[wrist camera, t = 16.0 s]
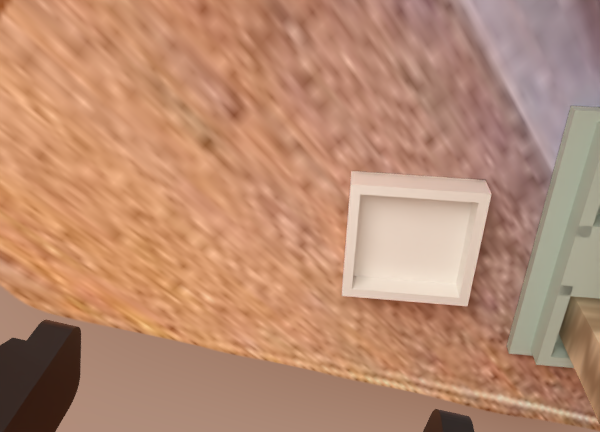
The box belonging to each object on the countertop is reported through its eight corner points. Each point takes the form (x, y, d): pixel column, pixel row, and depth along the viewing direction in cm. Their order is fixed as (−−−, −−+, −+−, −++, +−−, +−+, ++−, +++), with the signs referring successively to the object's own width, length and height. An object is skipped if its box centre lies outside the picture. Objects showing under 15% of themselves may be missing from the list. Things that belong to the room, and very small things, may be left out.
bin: (351, 170, 46) (350, 184, 44) (485, 180, 45) (491, 194, 43) (342, 279, 51) (341, 295, 49) (462, 288, 50) (467, 306, 48)
